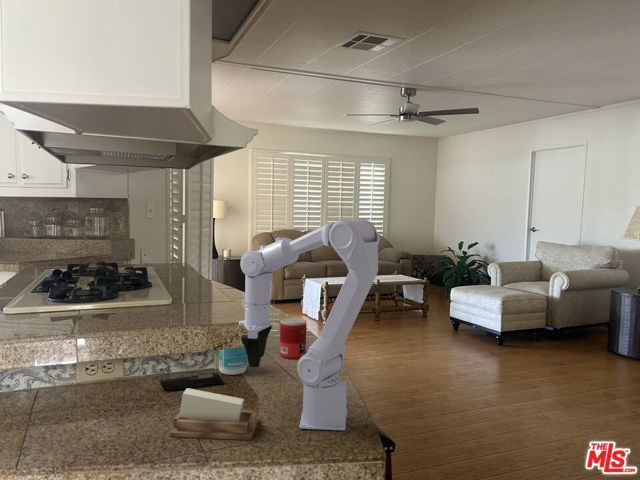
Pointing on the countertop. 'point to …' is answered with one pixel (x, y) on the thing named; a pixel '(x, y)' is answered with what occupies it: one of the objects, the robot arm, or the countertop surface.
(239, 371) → the pill bottle
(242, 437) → the tray
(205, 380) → the electric trimmer
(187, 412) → the clay strip
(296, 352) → the canned food
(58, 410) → the countertop surface
